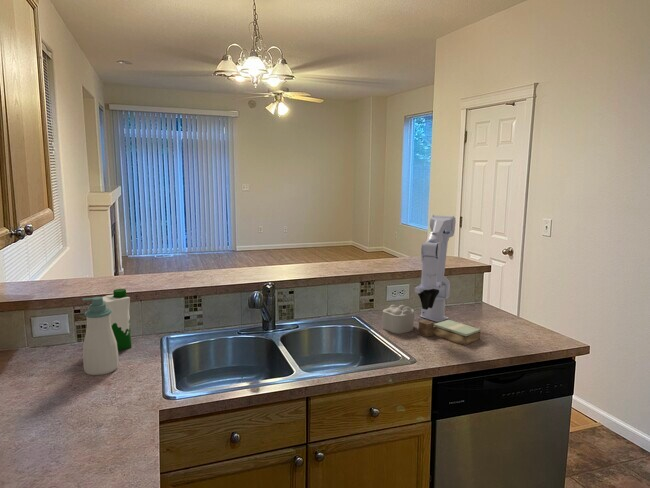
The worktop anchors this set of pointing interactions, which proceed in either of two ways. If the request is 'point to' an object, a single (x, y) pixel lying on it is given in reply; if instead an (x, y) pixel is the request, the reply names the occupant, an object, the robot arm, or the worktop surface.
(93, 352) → the soap bottle
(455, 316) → the worktop surface
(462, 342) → the box
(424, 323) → the walnut block
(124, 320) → the milk carton
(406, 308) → the lumpy-topped squat cylinder
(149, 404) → the worktop surface
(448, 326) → the lid
